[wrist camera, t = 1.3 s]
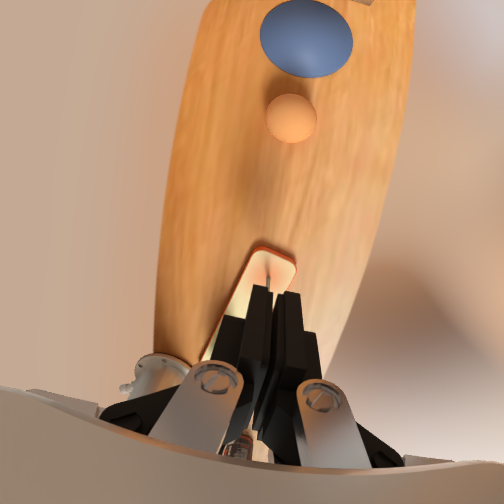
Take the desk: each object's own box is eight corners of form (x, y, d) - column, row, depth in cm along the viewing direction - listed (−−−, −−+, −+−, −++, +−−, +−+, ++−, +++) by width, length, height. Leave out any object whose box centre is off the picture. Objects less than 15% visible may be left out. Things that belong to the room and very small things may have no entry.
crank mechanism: (256, 242, 42) (240, 319, 24) (300, 262, 43) (312, 348, 25) (197, 365, 51) (167, 453, 33) (232, 379, 51) (214, 470, 33)
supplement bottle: (224, 432, 57) (215, 475, 47) (252, 433, 57) (247, 476, 46) (228, 447, 59) (221, 487, 49) (254, 447, 59) (250, 488, 48)
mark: (282, 90, 35) (282, 89, 35) (246, 15, 31) (245, 15, 31) (366, 64, 32) (367, 64, 32) (328, -8, 29) (328, -9, 29)
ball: (276, 149, 38) (276, 151, 32) (258, 107, 36) (255, 101, 30) (320, 133, 36) (328, 132, 31) (302, 91, 35) (307, 82, 29)
